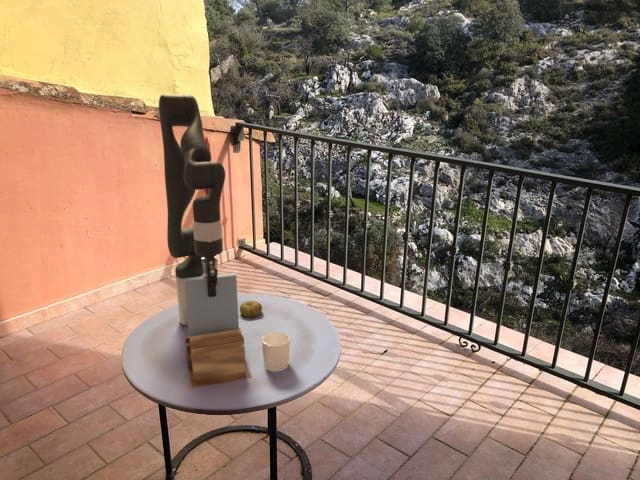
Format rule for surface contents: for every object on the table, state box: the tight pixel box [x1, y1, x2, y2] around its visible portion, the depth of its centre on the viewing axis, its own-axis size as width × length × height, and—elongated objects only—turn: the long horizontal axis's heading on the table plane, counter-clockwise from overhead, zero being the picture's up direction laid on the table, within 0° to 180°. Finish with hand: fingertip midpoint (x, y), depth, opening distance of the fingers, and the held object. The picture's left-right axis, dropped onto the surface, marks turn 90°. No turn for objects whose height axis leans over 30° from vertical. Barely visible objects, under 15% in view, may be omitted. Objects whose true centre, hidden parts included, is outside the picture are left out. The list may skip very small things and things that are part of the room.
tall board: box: [184, 272, 240, 340], centre depth 136 cm, size 2×14×20 cm, turn 109°
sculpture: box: [239, 300, 263, 318], centre depth 171 cm, size 8×4×8 cm
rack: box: [184, 327, 252, 389], centre depth 135 cm, size 16×16×8 cm
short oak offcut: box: [191, 341, 246, 381], centre depth 132 cm, size 3×14×8 cm, turn 109°
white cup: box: [261, 331, 291, 373], centre depth 136 cm, size 8×8×10 cm
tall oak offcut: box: [190, 328, 243, 370], centre depth 135 cm, size 3×14×10 cm, turn 109°
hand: (211, 294), depth 134 cm, fingers closed on tall board, 2 cm apart
